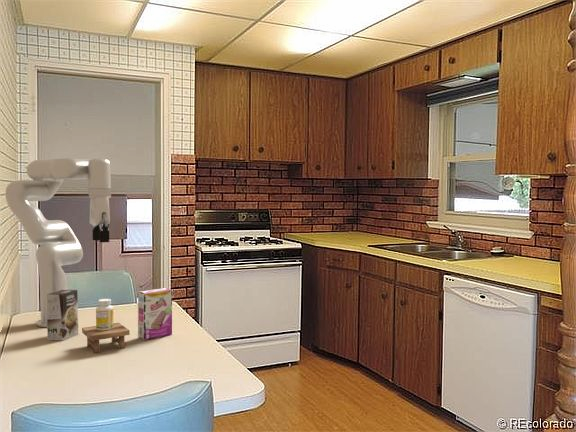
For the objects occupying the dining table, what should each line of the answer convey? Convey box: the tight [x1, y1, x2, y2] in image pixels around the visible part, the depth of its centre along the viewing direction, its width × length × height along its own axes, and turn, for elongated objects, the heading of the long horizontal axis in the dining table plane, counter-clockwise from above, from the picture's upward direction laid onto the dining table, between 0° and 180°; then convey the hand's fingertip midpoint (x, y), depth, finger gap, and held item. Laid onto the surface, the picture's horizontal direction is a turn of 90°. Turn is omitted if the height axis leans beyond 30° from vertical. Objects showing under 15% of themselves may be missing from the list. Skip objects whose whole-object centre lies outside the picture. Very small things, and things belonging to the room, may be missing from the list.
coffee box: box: [46, 289, 79, 342], centre depth 184 cm, size 9×6×16 cm
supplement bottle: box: [95, 298, 114, 331], centre depth 172 cm, size 5×5×10 cm
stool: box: [81, 322, 131, 354], centre depth 172 cm, size 12×12×6 cm
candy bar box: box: [137, 287, 173, 341], centre depth 184 cm, size 11×5×16 cm, turn 134°
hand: (100, 241), depth 188 cm, fingers open, 9 cm apart
